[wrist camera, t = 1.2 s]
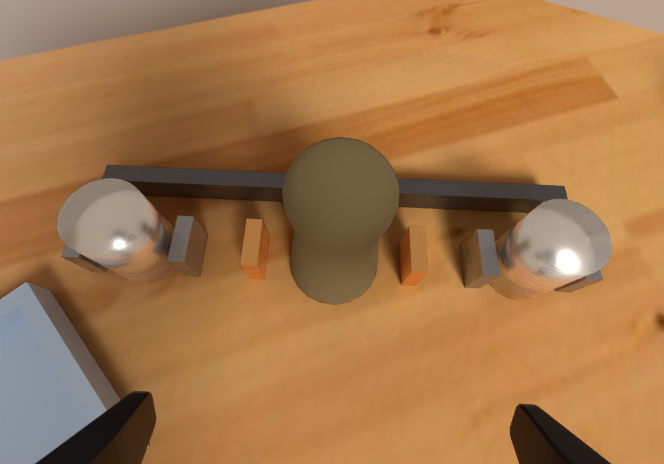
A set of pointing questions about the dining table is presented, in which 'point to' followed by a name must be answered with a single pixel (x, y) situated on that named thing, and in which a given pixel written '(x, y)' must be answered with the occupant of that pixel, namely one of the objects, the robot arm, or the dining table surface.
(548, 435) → the robot arm
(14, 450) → the tray
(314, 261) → the olive knobbed post
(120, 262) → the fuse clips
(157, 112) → the dining table surface
